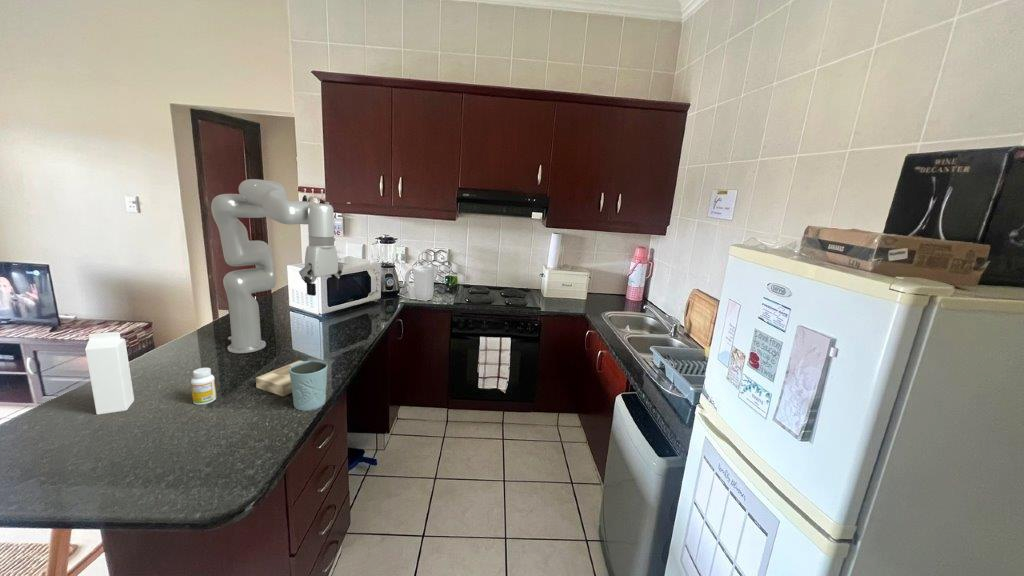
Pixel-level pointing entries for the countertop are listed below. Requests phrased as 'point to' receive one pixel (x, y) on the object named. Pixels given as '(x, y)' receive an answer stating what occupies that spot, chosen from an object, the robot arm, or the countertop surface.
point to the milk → (109, 372)
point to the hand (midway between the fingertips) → (323, 292)
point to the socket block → (276, 380)
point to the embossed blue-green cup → (308, 384)
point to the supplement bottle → (203, 386)
